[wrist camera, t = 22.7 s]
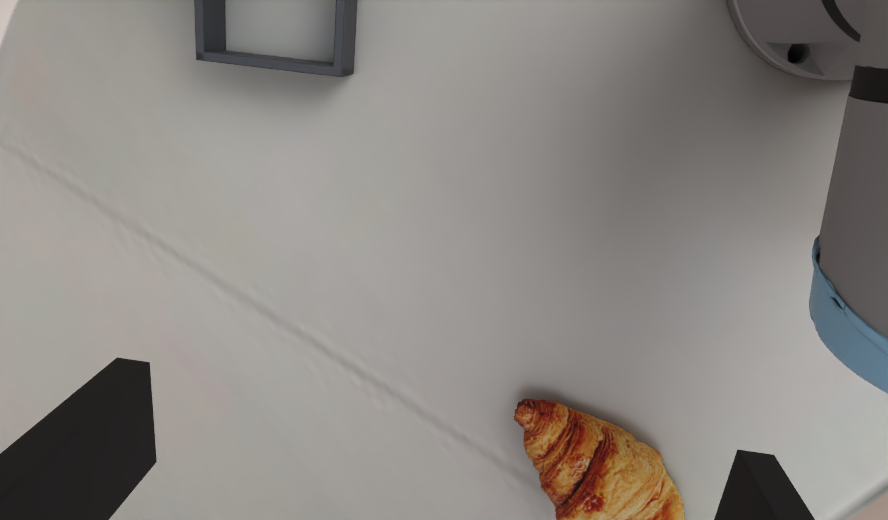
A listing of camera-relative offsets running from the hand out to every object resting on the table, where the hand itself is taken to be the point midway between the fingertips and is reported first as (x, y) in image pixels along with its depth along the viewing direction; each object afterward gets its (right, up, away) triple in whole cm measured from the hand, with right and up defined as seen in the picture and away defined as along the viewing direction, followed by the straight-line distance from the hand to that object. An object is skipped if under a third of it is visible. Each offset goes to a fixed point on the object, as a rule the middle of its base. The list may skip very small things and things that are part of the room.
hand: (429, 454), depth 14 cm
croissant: (+14, -14, +41) cm, 45 cm away
